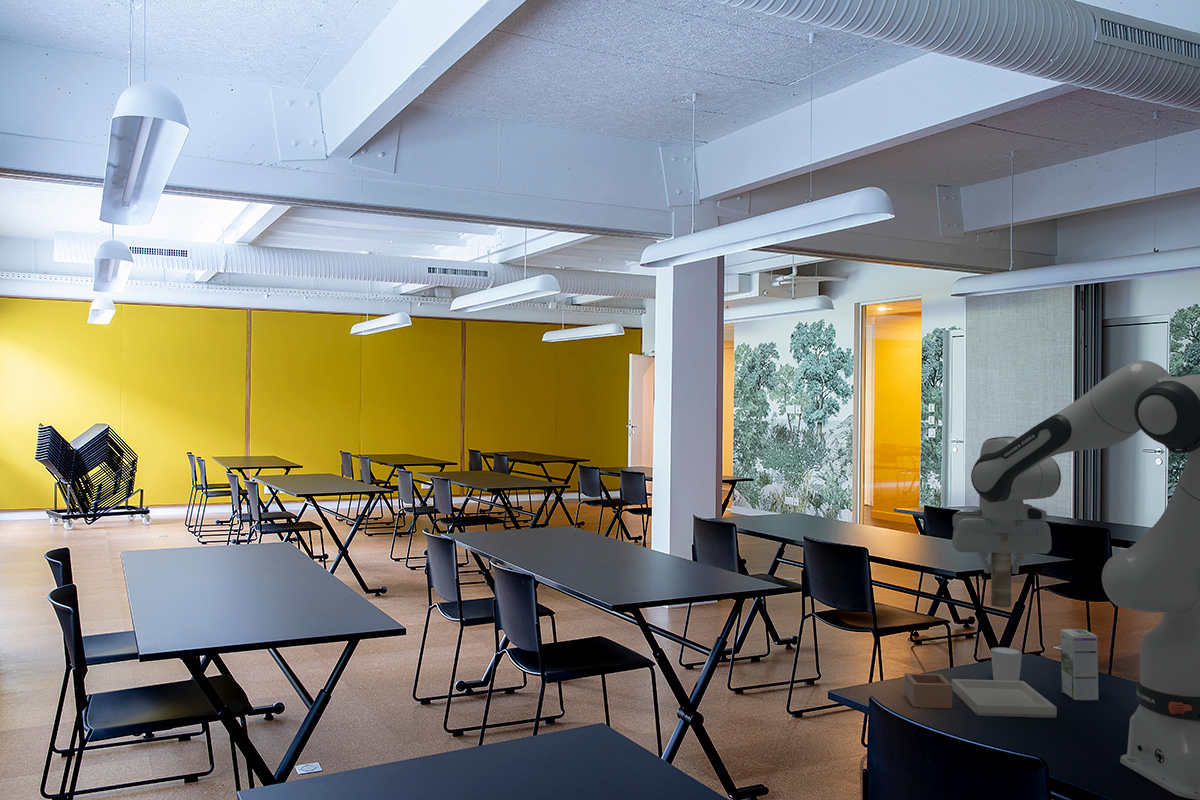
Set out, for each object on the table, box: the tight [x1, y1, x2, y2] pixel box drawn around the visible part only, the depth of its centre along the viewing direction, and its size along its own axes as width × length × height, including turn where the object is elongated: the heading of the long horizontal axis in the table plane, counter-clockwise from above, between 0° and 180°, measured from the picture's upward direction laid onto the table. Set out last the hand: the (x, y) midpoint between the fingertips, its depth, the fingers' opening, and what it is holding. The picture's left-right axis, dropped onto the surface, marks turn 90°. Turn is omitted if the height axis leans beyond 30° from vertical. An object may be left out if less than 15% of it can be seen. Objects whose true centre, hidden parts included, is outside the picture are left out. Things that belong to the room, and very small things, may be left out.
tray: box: [951, 678, 1058, 719], centre depth 196 cm, size 18×16×2 cm
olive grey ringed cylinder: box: [990, 534, 1012, 608], centre depth 196 cm, size 4×4×16 cm
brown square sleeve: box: [904, 672, 953, 710], centre depth 197 cm, size 8×8×5 cm
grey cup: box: [990, 646, 1023, 681], centre depth 213 cm, size 7×7×7 cm
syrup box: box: [1060, 628, 1099, 701], centre depth 201 cm, size 6×6×14 cm
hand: (1001, 573), depth 196 cm, fingers closed on olive grey ringed cylinder, 4 cm apart
